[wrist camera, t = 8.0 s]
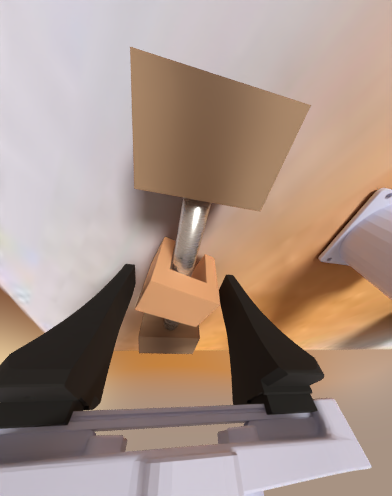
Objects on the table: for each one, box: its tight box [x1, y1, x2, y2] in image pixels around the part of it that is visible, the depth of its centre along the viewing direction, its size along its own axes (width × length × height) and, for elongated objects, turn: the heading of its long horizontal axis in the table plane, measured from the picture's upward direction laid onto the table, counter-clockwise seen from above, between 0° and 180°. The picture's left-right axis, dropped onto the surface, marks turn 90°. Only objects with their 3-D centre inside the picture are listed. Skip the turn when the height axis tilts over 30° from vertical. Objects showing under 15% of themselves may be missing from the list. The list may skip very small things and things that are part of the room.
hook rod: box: [164, 198, 211, 330], centre depth 13 cm, size 2×18×2 cm, turn 168°
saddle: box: [135, 237, 220, 327], centre depth 13 cm, size 5×4×5 cm
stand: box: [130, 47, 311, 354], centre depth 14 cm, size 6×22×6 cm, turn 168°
